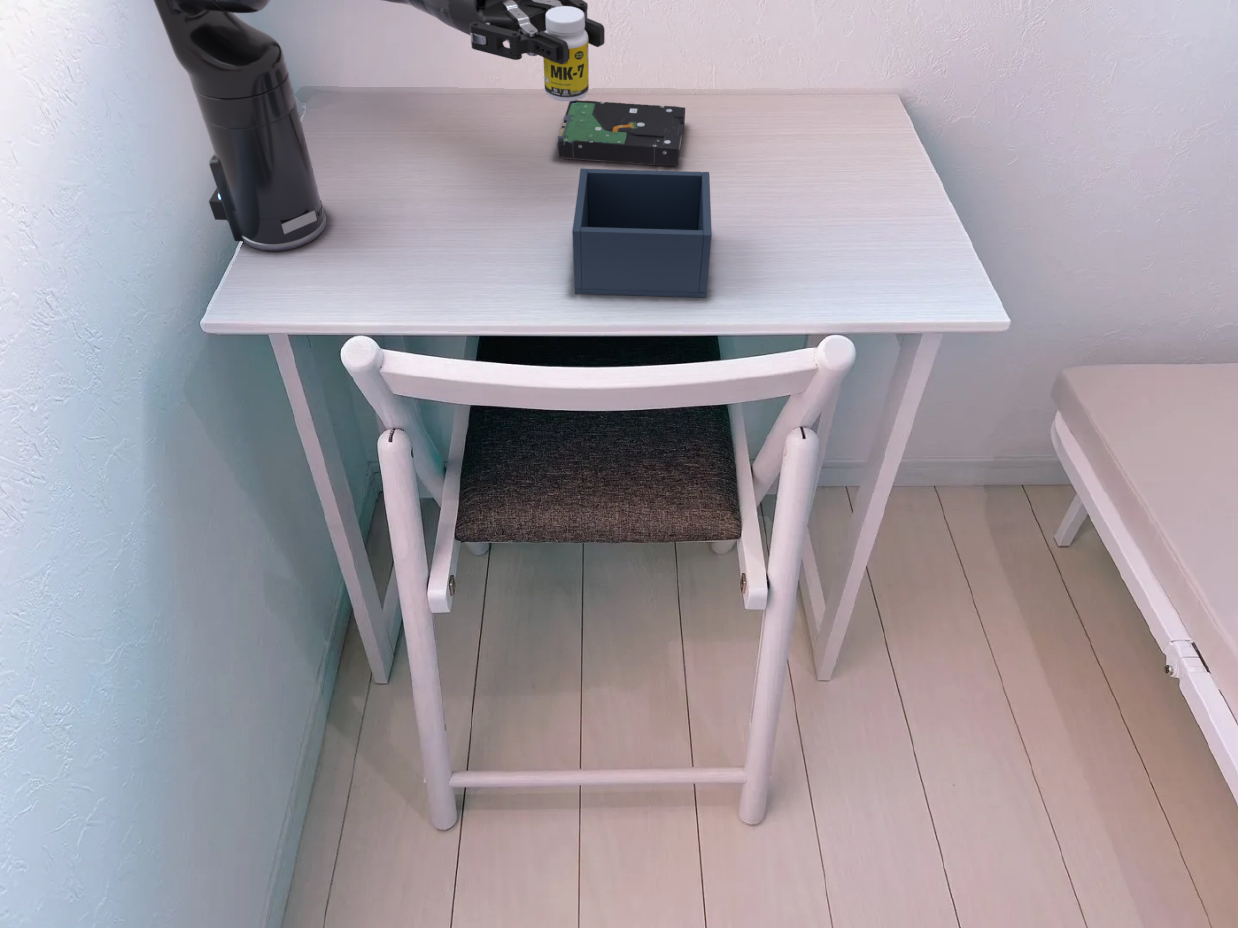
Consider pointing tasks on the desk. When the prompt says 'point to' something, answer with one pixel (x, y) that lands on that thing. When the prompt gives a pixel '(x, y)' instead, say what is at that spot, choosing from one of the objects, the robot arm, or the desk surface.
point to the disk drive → (622, 132)
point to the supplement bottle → (574, 74)
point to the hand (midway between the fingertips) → (583, 45)
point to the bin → (642, 233)
